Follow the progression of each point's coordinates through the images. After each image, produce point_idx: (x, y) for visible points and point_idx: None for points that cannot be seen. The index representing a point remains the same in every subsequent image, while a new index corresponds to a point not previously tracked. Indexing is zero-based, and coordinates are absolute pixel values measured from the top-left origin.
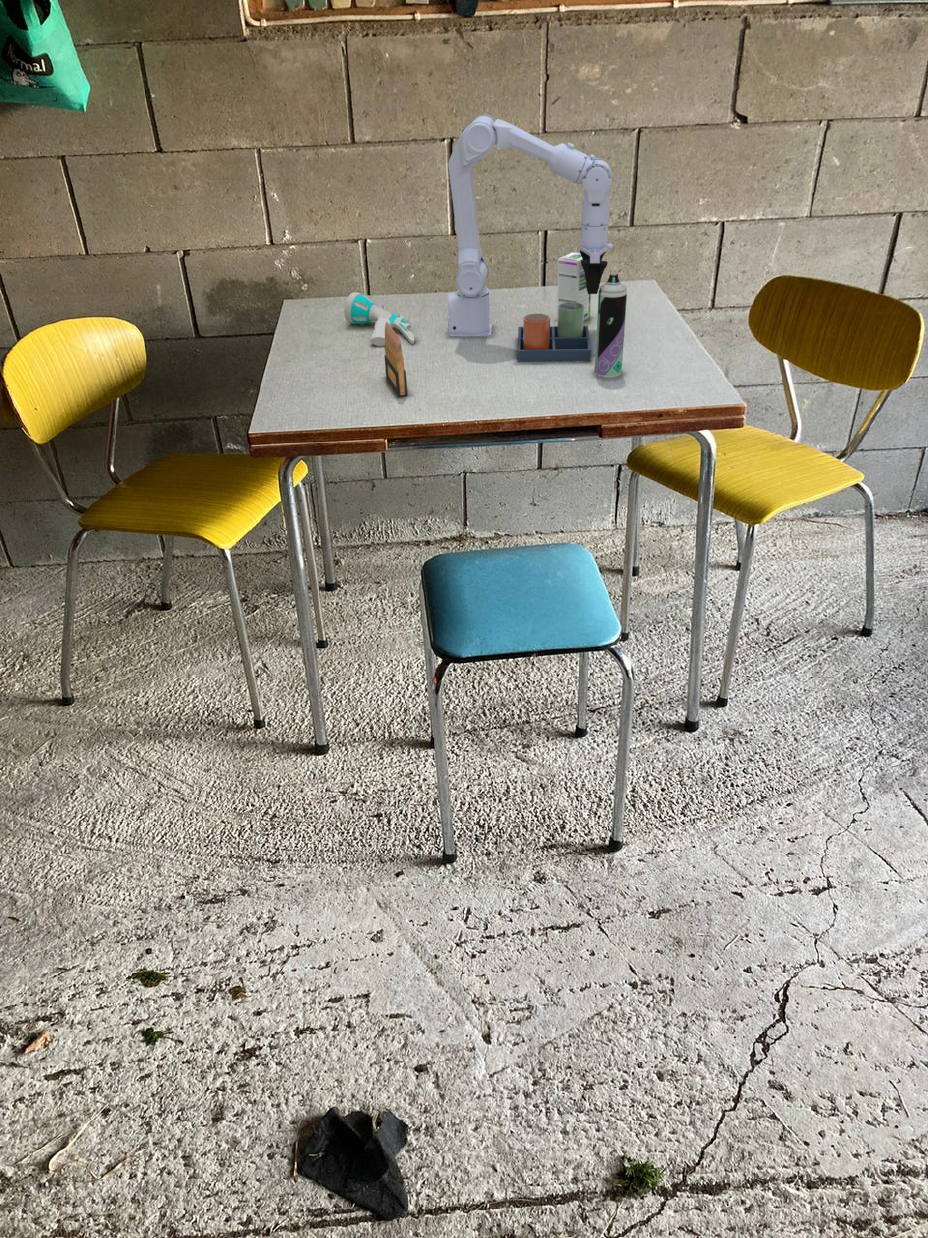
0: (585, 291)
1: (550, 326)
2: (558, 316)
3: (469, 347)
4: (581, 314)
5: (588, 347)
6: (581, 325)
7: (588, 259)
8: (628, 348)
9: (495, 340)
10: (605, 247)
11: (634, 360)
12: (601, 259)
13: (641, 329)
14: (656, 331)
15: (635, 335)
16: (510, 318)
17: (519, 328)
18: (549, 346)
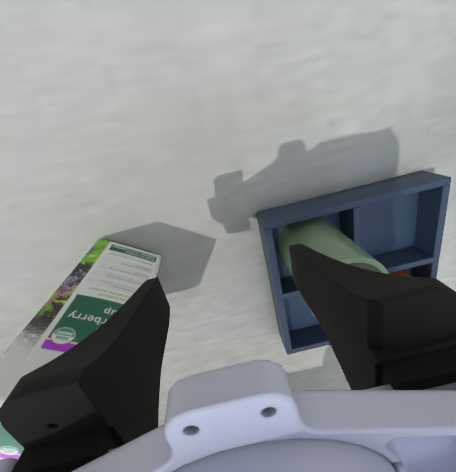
0: (105, 291)
1: (280, 302)
2: None
3: (326, 382)
4: (363, 250)
5: (431, 187)
6: (343, 235)
7: (148, 396)
8: (320, 86)
9: (289, 362)
10: (370, 430)
11: (414, 51)
12: (117, 340)
13: (144, 67)
14: (148, 3)
15: (206, 80)
16: (163, 375)
17: (299, 350)
18: (394, 273)
